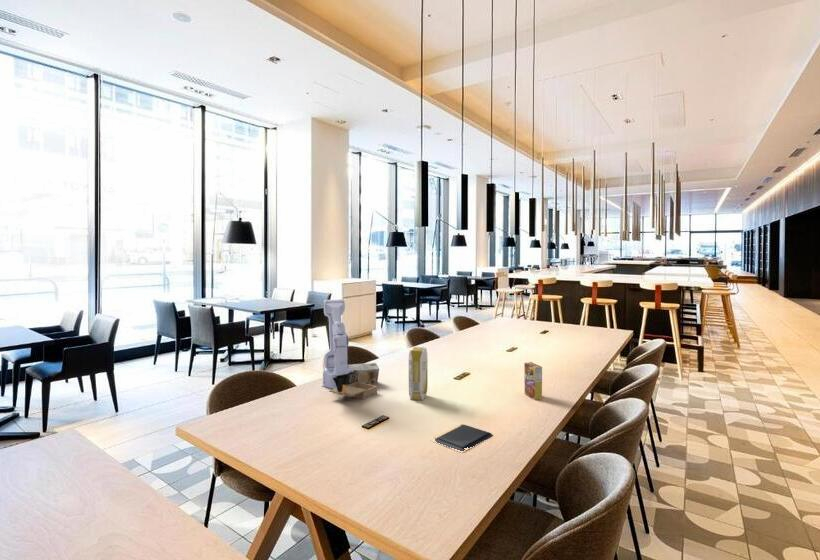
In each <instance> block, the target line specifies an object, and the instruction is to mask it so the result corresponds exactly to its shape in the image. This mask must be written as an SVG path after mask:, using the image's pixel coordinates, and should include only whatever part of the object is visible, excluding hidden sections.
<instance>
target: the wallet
mask: <svg viewBox="0 0 820 560" xmlns="http://www.w3.org/2000/svg"><path fill="white" fill-rule="evenodd" d="M493 436H494V434H492V433H491V432H490V431H486V430H482V429H479V428H476V427H474V426H470V425H468V424H463V423H462V424H460V425H457V426H455V427H454V428H451V429H450V430H448V431H446V432H444V433H441V434H439V435H438V436H436V437H434V438H435V441H436V442H437V443H440V444H443V445H446V446H448V447H451V448H454V449H457V450H460V451H464V450H465V449H464V448H467V447H468V448H470V447H473V446H474V447H476V446H477V445H476V444H478V443H479V444H481V443H483V442H484V440H485V441H487V440H488V439H491V438H492V437H493ZM482 441H483V442H482ZM480 442H481V443H480ZM437 443H436V444H437ZM440 444H439V445H440ZM479 444H478V445H479ZM475 445H476V446H475ZM474 447H473V448H474Z"/></svg>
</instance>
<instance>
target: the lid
mask: <svg viewBox="0 0 820 560" xmlns="http://www.w3.org/2000/svg"><path fill="white" fill-rule="evenodd" d="M364 391H366V389H361V388H357V387H353V386H348V385H343V388H342V392H338V390H337V388H334V389H332V388H331V389H329V390H328V392H330V393H333V394H338V395H342V396H347V397H350V398H351V397H352V396H355V395H357V394H359V393H362V392H364Z"/></svg>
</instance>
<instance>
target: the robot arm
mask: <svg viewBox="0 0 820 560" xmlns="http://www.w3.org/2000/svg"><path fill="white" fill-rule="evenodd" d="M345 307H346V304H345V300H344V299H343V298H341V299H324V300H323V314H324V316H325V317H327V318H328V325H329V327H328V328H329V329H328V330H329V349H328V350H327V351H326V352H325V353H324V358H323V360H324V361H323V362H324V363H323V364H324V369H323V371H322V385H321V387H324V388H329V389H331V390H332V389H334V388H337V390H338V392H342V388H343V385H347V382H348V379H349V377H350V374H348V373H349V372H353V368H352V367H349V368H347V365H348V347H349V336H348V333H347V331H346V326H345V324H344V322H342V316H343V314H344V312H345Z"/></svg>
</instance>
